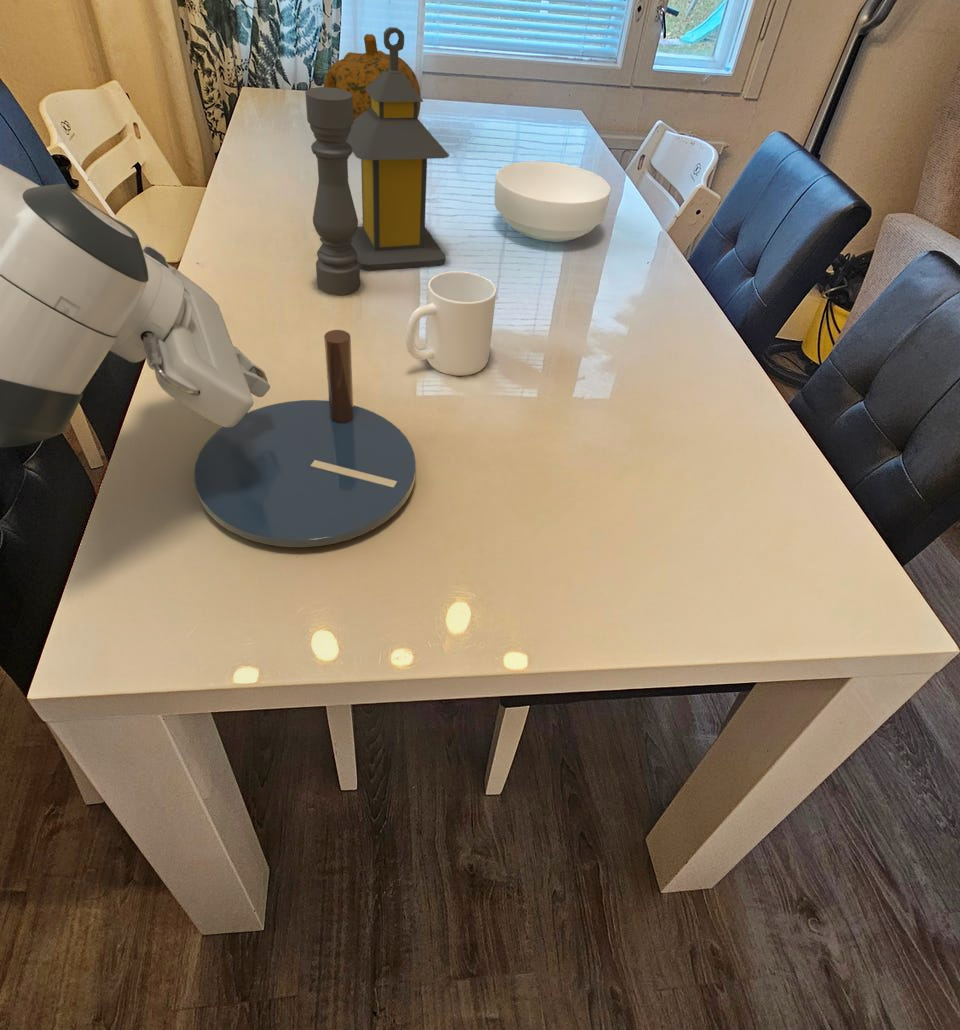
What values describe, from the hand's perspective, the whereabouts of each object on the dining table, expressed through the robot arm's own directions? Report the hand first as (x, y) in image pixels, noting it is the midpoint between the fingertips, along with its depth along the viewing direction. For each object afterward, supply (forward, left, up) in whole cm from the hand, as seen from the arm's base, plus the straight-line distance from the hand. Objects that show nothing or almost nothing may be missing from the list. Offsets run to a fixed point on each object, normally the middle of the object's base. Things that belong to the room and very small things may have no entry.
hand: (263, 385), depth 72 cm
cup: (+24, +9, -7) cm, 27 cm away
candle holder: (+17, +33, -7) cm, 37 cm away
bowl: (+58, +44, -7) cm, 73 cm away
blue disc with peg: (+2, -7, -7) cm, 10 cm away
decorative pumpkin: (+43, +95, -7) cm, 104 cm away
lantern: (+29, +43, -7) cm, 52 cm away
